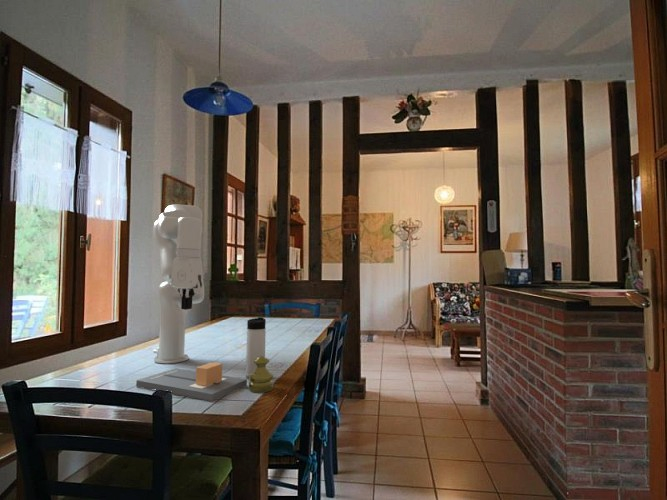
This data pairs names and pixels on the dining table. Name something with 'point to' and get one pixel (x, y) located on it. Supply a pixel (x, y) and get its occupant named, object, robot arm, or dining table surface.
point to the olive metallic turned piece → (261, 376)
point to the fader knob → (208, 373)
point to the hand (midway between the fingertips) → (186, 308)
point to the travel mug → (255, 342)
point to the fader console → (191, 384)
